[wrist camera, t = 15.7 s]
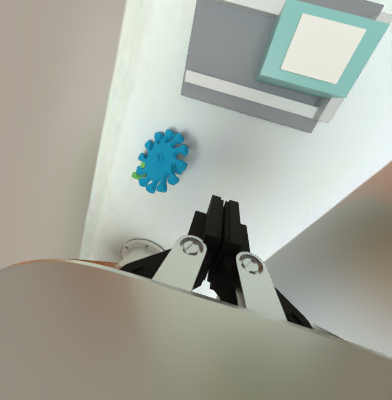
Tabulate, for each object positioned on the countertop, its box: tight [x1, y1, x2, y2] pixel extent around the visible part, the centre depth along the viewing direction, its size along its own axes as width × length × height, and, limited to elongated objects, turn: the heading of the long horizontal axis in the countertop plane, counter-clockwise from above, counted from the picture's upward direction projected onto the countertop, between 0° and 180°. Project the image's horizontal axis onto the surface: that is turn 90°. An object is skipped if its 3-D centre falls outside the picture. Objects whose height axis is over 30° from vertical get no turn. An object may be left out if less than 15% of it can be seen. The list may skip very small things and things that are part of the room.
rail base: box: [181, 0, 392, 133], centre depth 20 cm, size 12×18×4 cm, turn 77°
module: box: [255, 0, 390, 98], centre depth 17 cm, size 5×8×6 cm, turn 77°
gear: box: [132, 129, 189, 193], centre depth 29 cm, size 11×6×10 cm
